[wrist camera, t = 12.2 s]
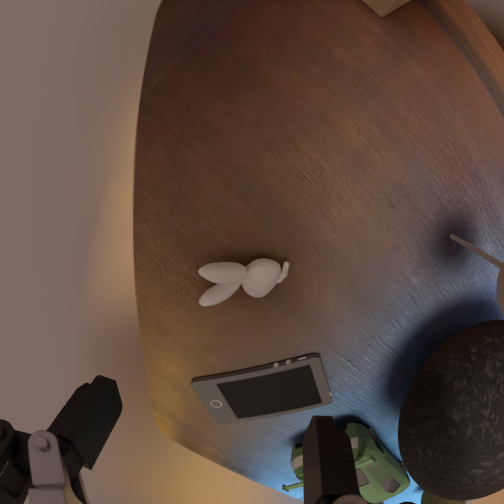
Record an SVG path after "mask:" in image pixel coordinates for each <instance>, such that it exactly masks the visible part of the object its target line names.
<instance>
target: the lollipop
mask: <svg viewBox="0 0 504 504" xmlns="http://www.w3.org/2000/svg"><path fill="white" fill-rule="evenodd" d="M449 237H450V238H451V239H453V240H455V241H456V242H458V243H460V244H461V245H463V246H465V247H467V248H468V249H470V250H472V251H473V252H475V253H476V254H478V255H480V256H481V257H483V258H485V259H486V260H488V261H489V262H491V263H492V264H494V265H495V266H497V267H498V268H500V271H499V274H498V279H497V299H498V303H499V307H500V309H501V311H502V313H503V316H504V262H503V263H501V262H500V261H498V260H497V259H495V258H493V257H492V256H490V255H488V254H487V253H485V252H483V251H482V250H480V249H478V248H476V247H475V246H473V245H471V244H470V243H468V242H466V241H464V240H462V239H461V238H459V237H457V236H455V235H453V234H450V235H449Z"/></svg>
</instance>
